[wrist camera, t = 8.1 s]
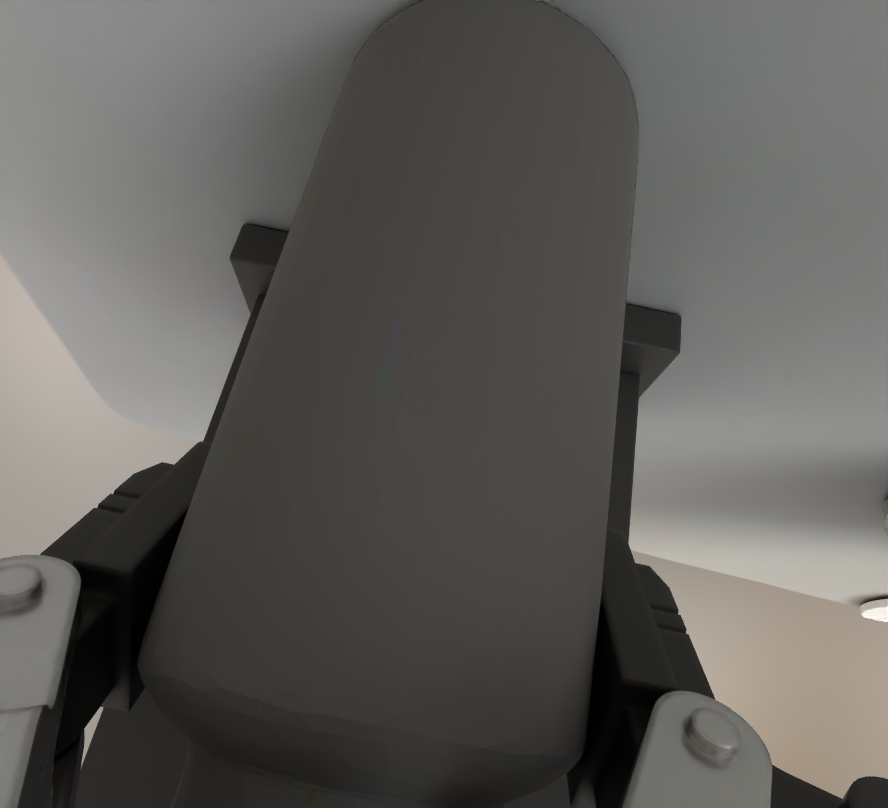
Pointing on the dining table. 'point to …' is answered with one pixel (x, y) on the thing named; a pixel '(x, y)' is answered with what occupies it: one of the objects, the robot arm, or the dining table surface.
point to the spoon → (875, 610)
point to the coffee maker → (254, 261)
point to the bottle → (417, 439)
